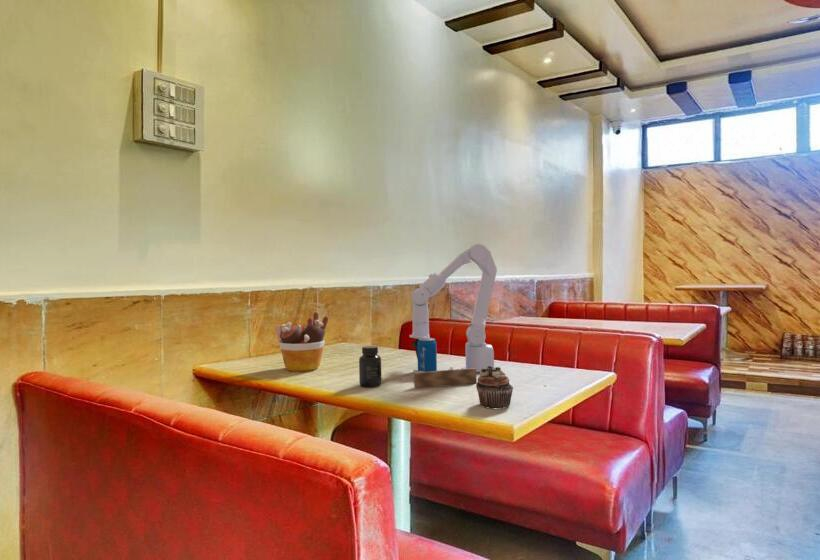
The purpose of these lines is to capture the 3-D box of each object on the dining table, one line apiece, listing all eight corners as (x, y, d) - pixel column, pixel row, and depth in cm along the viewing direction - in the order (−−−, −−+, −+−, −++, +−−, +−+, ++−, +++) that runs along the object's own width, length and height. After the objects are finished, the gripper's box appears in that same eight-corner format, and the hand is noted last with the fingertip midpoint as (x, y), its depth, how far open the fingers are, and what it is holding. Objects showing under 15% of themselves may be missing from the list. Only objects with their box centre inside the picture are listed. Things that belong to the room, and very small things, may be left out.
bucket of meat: (303, 375, 185) (302, 317, 185) (266, 371, 193) (265, 315, 192) (338, 365, 203) (337, 312, 202) (303, 362, 211) (302, 311, 210)
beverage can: (414, 375, 184) (414, 339, 184) (423, 371, 190) (422, 337, 189) (431, 376, 181) (431, 340, 181) (439, 373, 187) (439, 338, 186)
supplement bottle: (359, 383, 173) (359, 345, 172) (381, 382, 173) (380, 345, 173) (359, 388, 166) (358, 349, 165) (381, 387, 166) (381, 348, 166)
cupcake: (509, 411, 138) (509, 371, 138) (472, 407, 142) (471, 369, 141) (516, 401, 147) (516, 365, 147) (481, 399, 151) (481, 363, 150)
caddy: (461, 375, 183) (460, 361, 182) (476, 383, 170) (476, 368, 170) (403, 379, 177) (403, 365, 177) (415, 388, 165) (415, 373, 165)
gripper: (403, 320, 197) (404, 358, 197) (415, 325, 183) (416, 365, 183) (422, 320, 199) (423, 357, 199) (435, 324, 185) (436, 363, 185)
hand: (421, 360), depth 192 cm, fingers closed
